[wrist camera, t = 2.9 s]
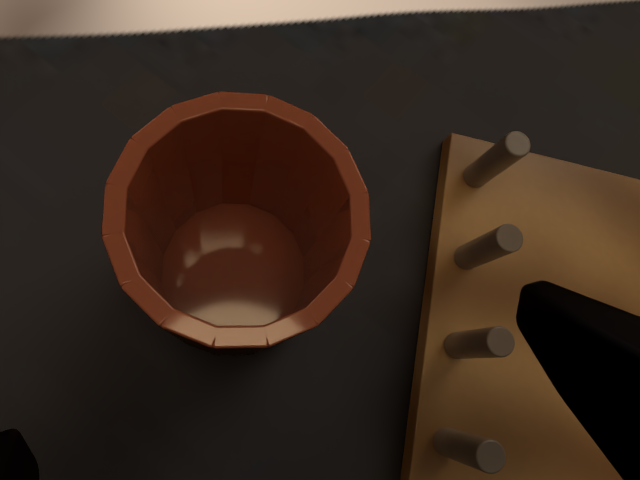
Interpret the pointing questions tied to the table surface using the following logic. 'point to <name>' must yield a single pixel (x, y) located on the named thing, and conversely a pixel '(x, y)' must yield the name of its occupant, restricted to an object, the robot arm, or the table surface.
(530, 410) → the dish rack
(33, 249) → the table surface
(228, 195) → the cup
